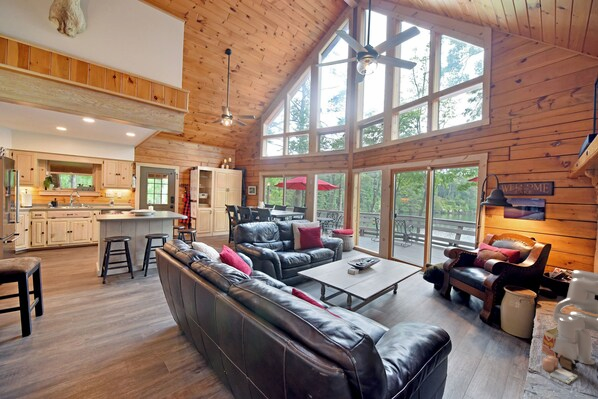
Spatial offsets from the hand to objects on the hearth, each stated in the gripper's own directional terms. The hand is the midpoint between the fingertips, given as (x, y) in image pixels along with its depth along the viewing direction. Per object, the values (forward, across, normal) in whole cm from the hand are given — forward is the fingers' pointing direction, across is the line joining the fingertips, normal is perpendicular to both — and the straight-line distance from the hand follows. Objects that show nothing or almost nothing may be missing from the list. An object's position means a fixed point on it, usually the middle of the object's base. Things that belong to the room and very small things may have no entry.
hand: (567, 365), depth 161 cm
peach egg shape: (+1, -4, -7) cm, 9 cm away
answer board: (+1, +2, -13) cm, 13 cm away
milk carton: (+2, -10, +10) cm, 14 cm away
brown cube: (+1, 0, 0) cm, 1 cm away
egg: (+1, -4, -14) cm, 14 cm away
